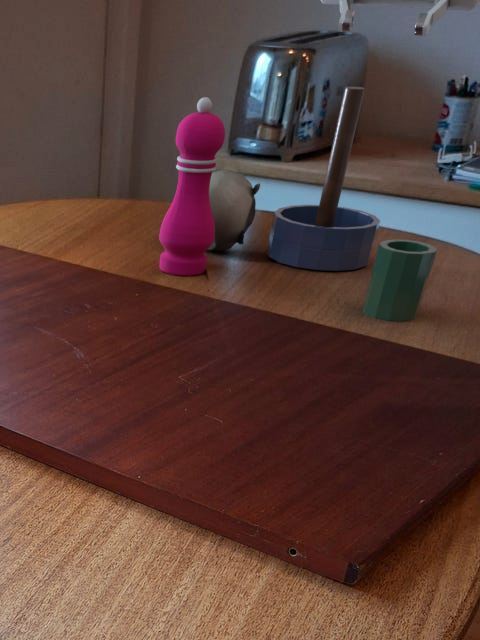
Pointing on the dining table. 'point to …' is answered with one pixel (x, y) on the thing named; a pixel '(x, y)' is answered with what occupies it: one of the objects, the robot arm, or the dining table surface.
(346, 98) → the stick
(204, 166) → the pepper mill
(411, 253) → the holder
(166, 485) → the dining table surface
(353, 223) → the bowl
